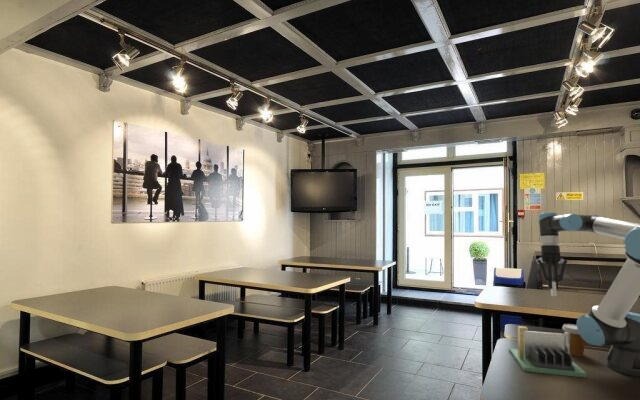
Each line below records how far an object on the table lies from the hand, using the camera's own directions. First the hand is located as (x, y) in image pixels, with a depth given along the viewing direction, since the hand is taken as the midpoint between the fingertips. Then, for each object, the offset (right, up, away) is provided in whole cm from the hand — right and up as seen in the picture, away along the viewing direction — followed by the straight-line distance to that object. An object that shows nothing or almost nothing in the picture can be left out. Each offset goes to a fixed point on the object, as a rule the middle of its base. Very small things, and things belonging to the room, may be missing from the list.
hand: (553, 296), depth 174 cm
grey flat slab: (-15, -22, -17) cm, 32 cm away
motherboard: (-15, -24, -17) cm, 33 cm away
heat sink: (-16, -22, -21) cm, 34 cm away
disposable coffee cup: (+7, -25, -5) cm, 26 cm away
